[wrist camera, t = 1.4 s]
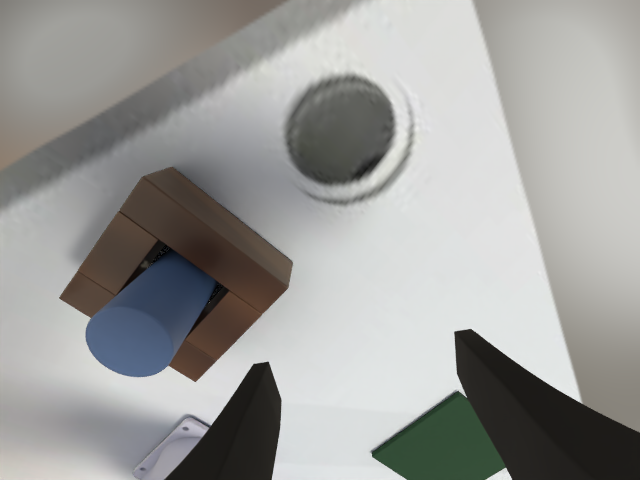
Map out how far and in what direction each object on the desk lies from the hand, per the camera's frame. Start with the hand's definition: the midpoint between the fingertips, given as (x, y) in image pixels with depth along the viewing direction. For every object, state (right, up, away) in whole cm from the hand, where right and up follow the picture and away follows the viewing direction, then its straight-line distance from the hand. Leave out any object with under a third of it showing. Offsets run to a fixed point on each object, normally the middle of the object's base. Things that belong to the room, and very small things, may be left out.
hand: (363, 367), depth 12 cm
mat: (+10, -14, +16) cm, 24 cm away
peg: (-10, +3, +10) cm, 15 cm away
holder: (-10, +3, +10) cm, 15 cm away
